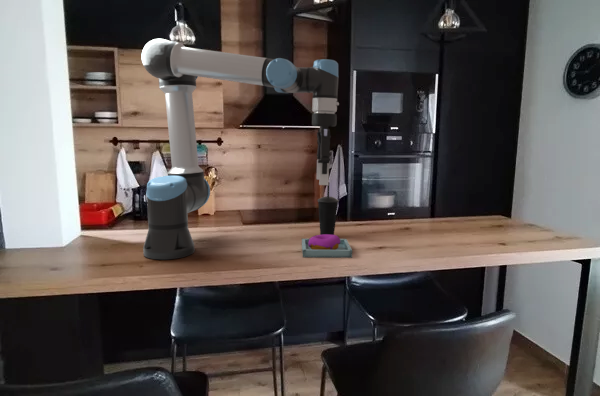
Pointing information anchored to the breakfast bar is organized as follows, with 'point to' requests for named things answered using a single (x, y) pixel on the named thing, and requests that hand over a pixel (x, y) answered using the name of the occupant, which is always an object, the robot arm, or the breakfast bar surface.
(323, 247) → the donut
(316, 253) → the tray
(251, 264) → the breakfast bar surface
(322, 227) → the drinking cup
